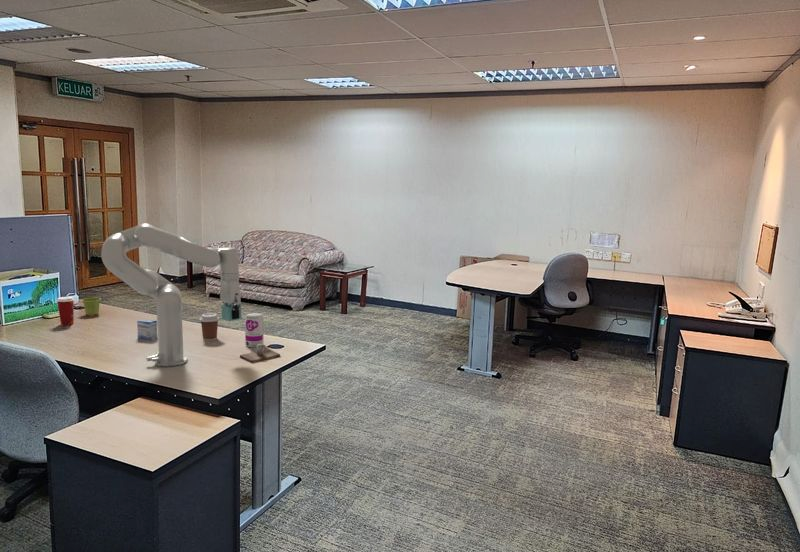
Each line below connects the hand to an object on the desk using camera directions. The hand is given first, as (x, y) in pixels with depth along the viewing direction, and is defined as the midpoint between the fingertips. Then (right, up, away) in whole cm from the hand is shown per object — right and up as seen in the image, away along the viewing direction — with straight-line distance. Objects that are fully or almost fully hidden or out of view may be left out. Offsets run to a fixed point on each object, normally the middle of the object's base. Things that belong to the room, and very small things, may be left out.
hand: (231, 317), depth 232 cm
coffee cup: (-20, -13, +29) cm, 37 cm away
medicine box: (-49, -12, +27) cm, 58 cm away
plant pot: (-100, -4, +69) cm, 122 cm away
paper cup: (-101, -7, +48) cm, 112 cm away
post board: (+11, -18, +4) cm, 21 cm away
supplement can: (+4, -15, +21) cm, 26 cm away
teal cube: (0, -1, 0) cm, 1 cm away
